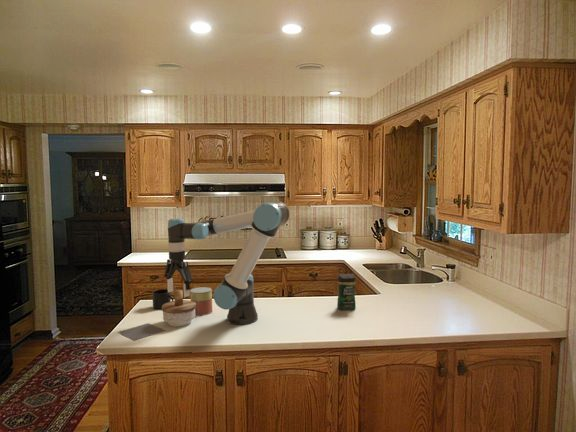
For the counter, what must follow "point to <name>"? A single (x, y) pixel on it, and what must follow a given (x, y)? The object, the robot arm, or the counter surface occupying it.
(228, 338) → the counter surface
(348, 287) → the coffee jar
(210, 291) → the canned food
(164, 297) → the mug
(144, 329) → the mat
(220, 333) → the counter surface
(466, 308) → the counter surface
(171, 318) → the speckled bowl
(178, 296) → the lid
